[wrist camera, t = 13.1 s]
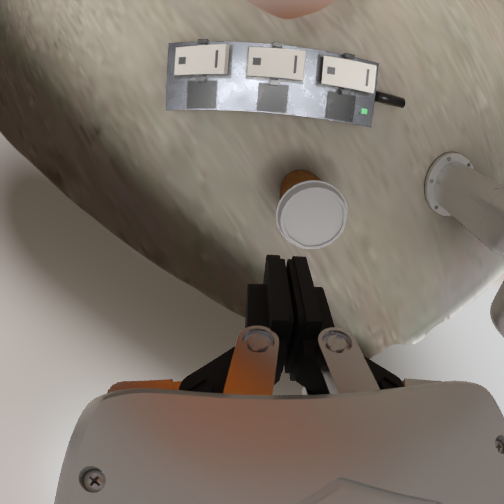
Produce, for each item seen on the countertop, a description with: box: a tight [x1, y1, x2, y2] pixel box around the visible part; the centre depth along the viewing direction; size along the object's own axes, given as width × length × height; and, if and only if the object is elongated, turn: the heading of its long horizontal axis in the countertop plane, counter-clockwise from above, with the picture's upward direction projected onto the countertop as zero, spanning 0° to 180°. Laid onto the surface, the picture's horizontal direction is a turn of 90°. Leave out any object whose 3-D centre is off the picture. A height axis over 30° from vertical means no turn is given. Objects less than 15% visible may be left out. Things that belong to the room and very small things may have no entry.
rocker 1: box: [174, 44, 230, 76], centre depth 31 cm, size 7×4×1 cm, turn 86°
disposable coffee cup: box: [276, 170, 348, 249], centre depth 42 cm, size 10×10×12 cm
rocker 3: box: [321, 56, 377, 93], centre depth 32 cm, size 7×4×1 cm, turn 86°
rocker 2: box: [247, 47, 306, 81], centre depth 31 cm, size 7×4×1 cm, turn 86°
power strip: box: [166, 39, 405, 127], centre depth 35 cm, size 35×10×6 cm, turn 86°
